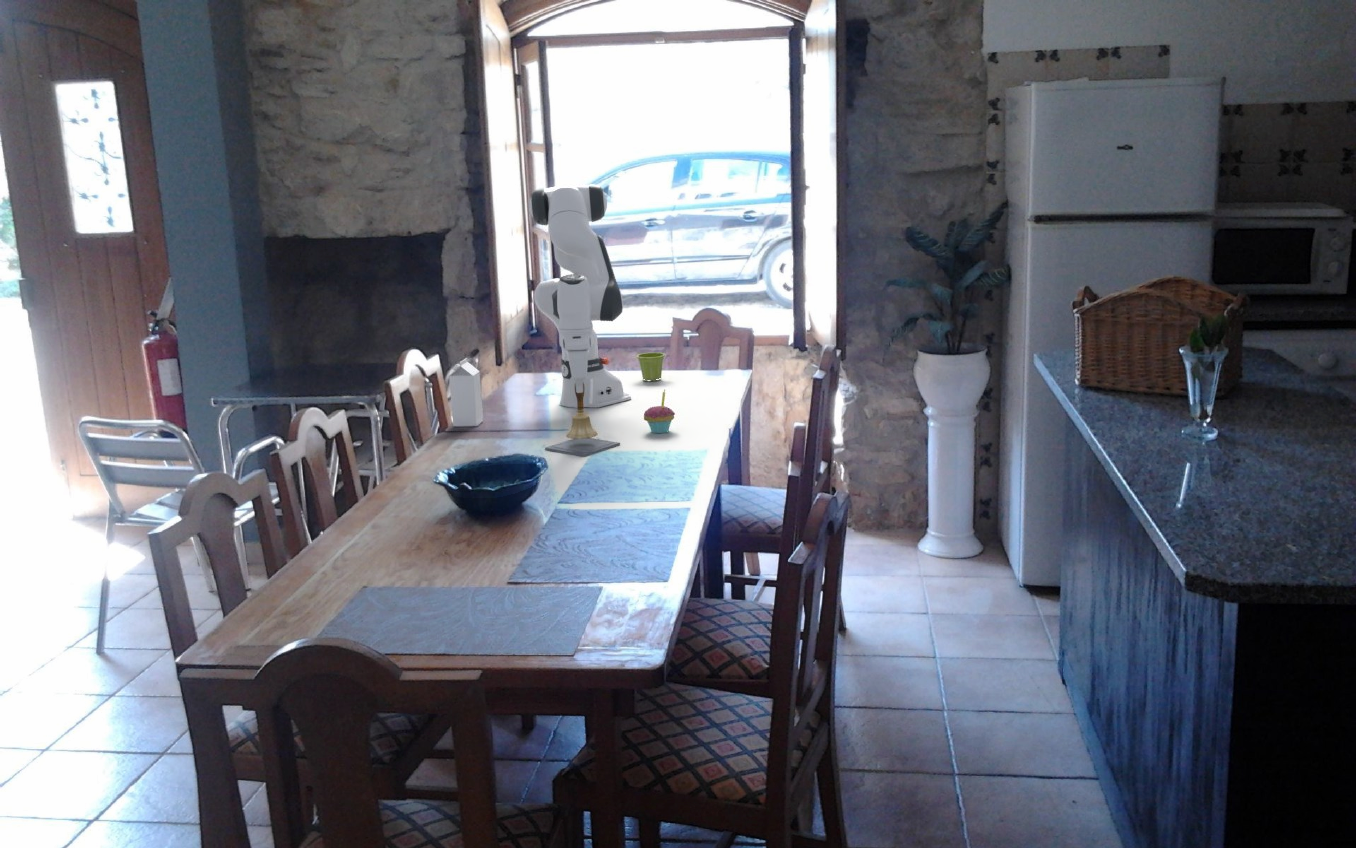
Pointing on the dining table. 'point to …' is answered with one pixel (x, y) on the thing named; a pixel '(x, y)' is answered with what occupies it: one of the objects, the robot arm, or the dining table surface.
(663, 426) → the cupcake
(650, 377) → the plant pot
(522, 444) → the dining table surface
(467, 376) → the milk carton
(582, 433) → the hand bell
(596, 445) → the plate
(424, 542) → the dining table surface
